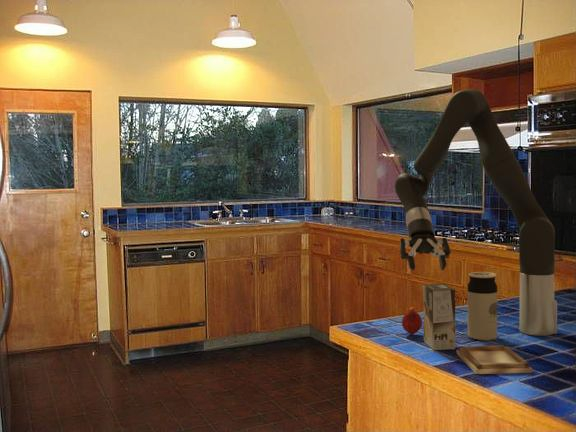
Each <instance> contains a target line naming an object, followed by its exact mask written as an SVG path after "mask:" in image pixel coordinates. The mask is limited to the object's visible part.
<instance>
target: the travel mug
mask: <svg viewBox="0 0 576 432" xmlns="http://www.w3.org/2000/svg"><path fill="white" fill-rule="evenodd" d="M467 275H468V276H469V281H468V283H467V337H469V338H471V339H472V338H473V340H475V339H477V341H493V340H495V339H497V338H498V285H497V283H496V281H495V280H496V277H497V274H496V273H495V272H489V271H473V272H469V273H468V274H467Z"/></svg>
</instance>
